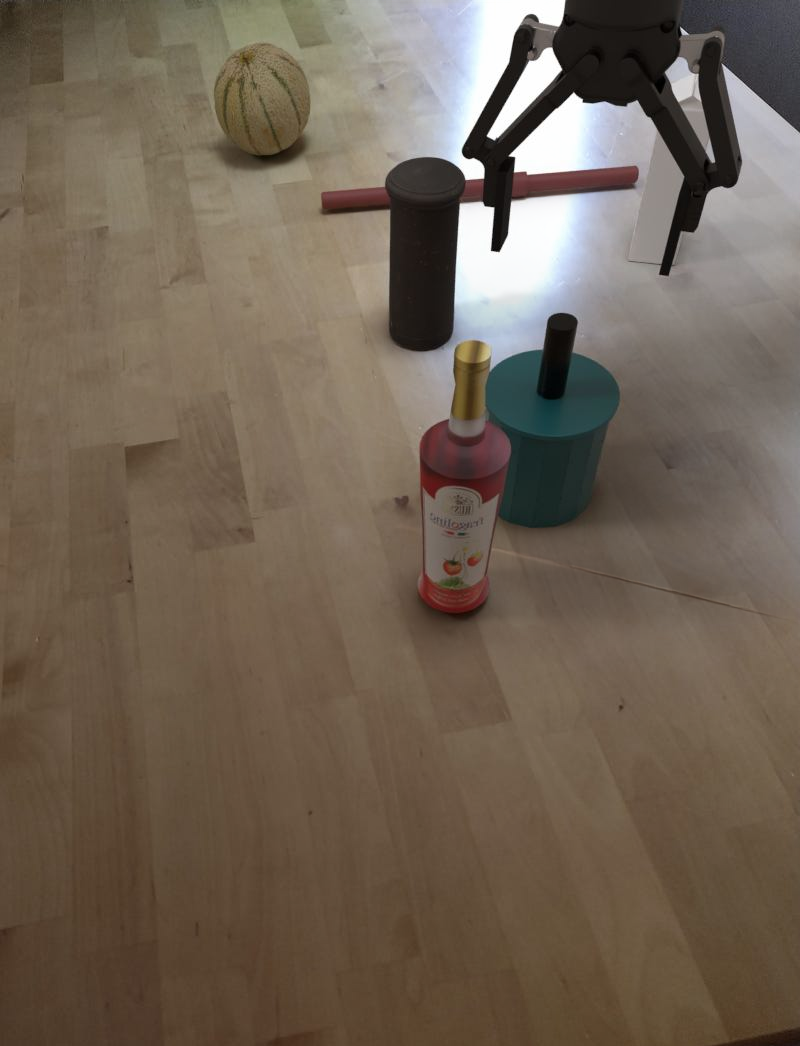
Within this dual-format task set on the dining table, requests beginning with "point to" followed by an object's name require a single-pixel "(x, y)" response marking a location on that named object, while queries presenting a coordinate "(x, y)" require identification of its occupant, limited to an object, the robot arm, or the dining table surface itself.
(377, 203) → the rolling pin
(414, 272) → the container
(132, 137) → the dining table surface
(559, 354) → the teal lid
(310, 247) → the dining table surface
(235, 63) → the cantaloupe
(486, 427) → the liquor
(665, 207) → the milk
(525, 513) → the teal pot
